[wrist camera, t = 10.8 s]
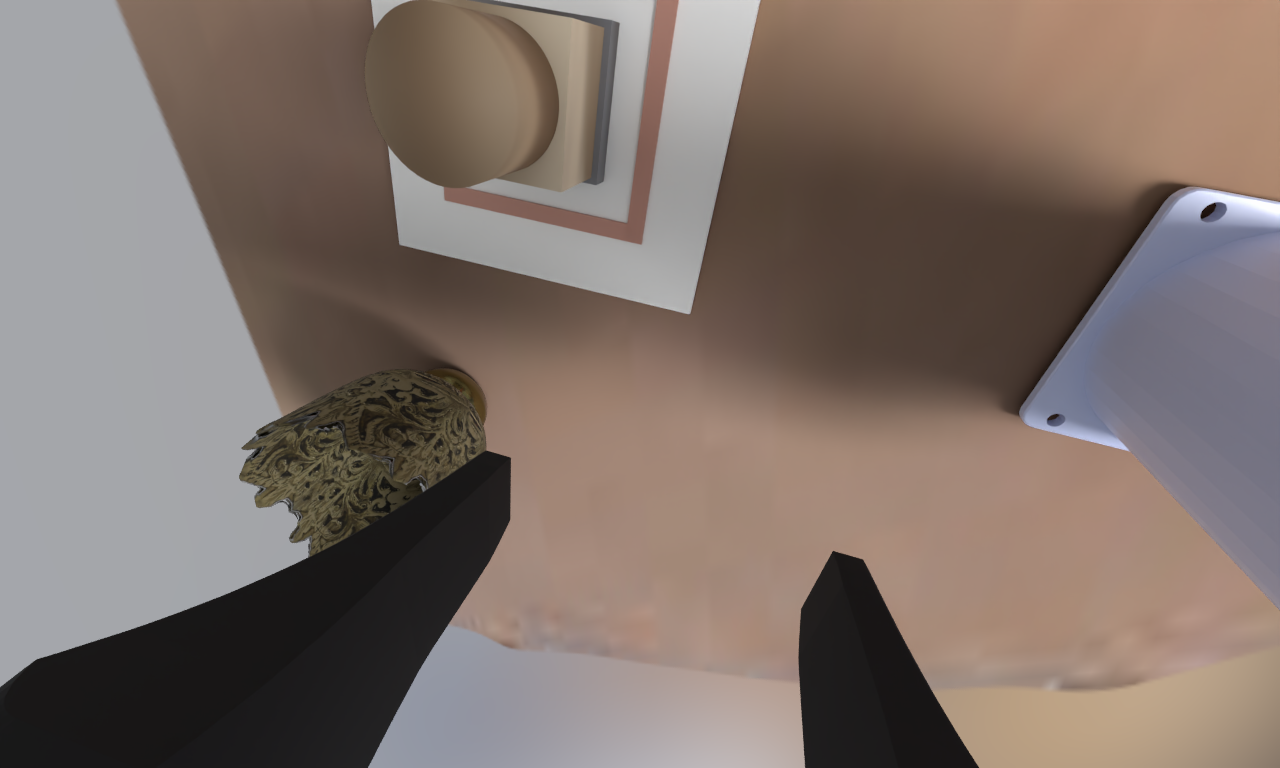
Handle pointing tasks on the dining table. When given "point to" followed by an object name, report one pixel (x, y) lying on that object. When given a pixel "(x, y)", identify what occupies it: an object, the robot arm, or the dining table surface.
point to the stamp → (493, 92)
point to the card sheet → (612, 164)
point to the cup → (366, 450)
